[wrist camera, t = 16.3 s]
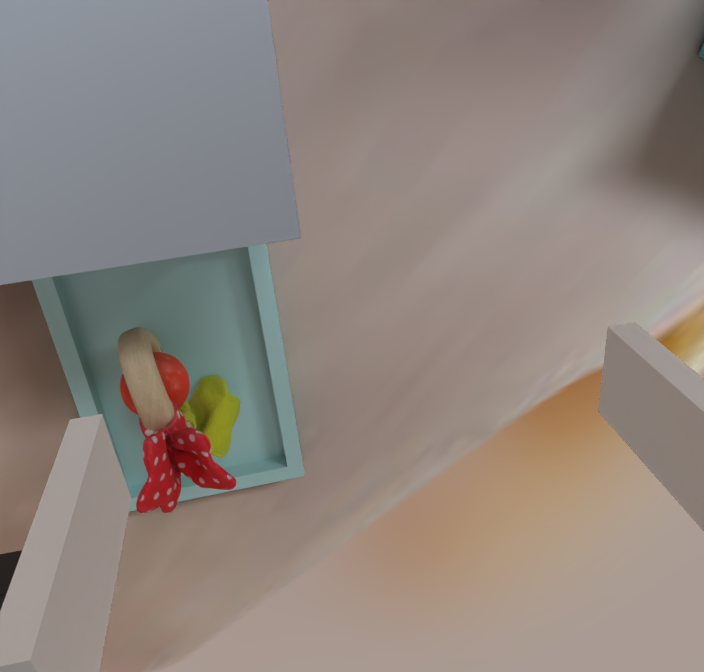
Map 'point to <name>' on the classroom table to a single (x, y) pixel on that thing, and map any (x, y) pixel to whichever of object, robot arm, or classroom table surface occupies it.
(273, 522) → the classroom table surface
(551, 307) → the classroom table surface
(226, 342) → the tray
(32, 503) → the classroom table surface
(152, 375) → the bird rattle
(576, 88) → the classroom table surface
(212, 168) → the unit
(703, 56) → the box
